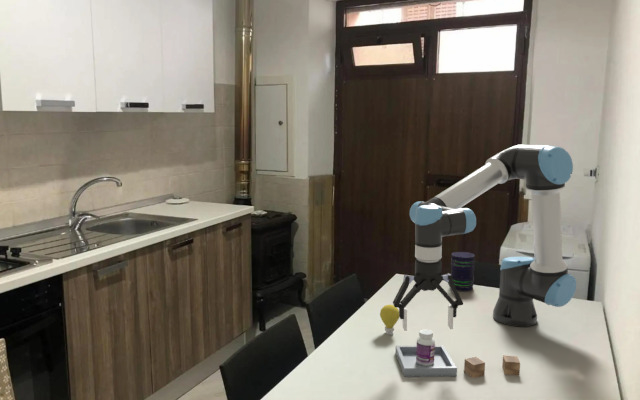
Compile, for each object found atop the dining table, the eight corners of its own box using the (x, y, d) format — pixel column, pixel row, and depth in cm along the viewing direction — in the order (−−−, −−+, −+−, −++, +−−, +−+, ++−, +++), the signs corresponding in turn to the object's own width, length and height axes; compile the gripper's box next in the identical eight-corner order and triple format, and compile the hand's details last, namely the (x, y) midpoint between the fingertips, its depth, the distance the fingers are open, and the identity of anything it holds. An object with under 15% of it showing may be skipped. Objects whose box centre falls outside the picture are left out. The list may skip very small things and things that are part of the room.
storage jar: (450, 290, 222) (452, 256, 220) (448, 283, 231) (450, 251, 229) (474, 292, 220) (476, 257, 218) (472, 284, 230) (473, 252, 227)
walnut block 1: (475, 369, 152) (475, 356, 151) (484, 375, 148) (485, 362, 148) (464, 372, 150) (464, 359, 150) (472, 378, 147) (473, 365, 146)
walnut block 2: (516, 369, 152) (517, 356, 152) (519, 375, 148) (520, 362, 148) (502, 368, 153) (503, 355, 152) (504, 374, 149) (505, 361, 148)
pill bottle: (434, 367, 152) (435, 336, 150) (415, 365, 153) (416, 334, 151) (434, 359, 157) (435, 328, 155) (416, 357, 158) (417, 327, 156)
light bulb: (400, 330, 180) (401, 303, 178) (397, 338, 173) (398, 309, 172) (381, 328, 182) (382, 300, 180) (377, 335, 175) (378, 307, 174)
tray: (443, 352, 162) (443, 345, 162) (456, 376, 148) (457, 367, 147) (395, 353, 162) (395, 345, 162) (404, 376, 147) (404, 368, 147)
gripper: (467, 254, 154) (465, 321, 157) (383, 256, 153) (383, 324, 157) (475, 261, 146) (473, 332, 150) (387, 263, 146) (387, 334, 150)
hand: (427, 328), depth 153 cm, fingers open, 13 cm apart
